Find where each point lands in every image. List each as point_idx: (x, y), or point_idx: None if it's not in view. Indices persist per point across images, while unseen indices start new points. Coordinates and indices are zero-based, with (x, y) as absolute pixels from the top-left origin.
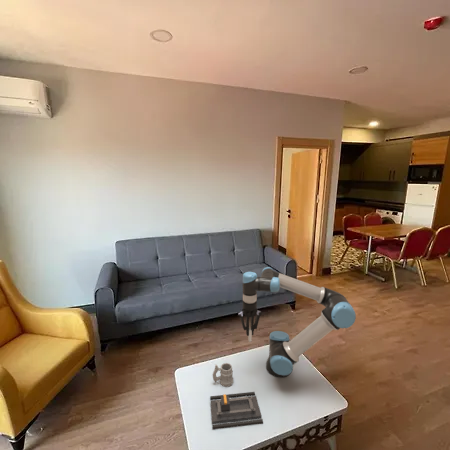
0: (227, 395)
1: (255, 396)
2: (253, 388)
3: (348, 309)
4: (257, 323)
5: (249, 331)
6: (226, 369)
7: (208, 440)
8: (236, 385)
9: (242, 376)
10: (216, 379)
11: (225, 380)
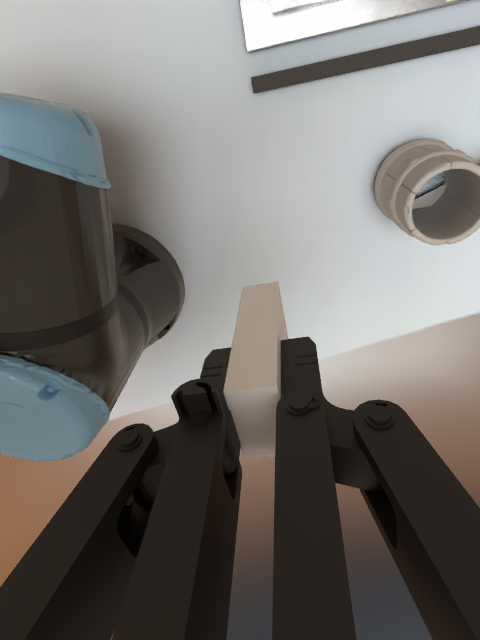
0: (432, 44)
1: (249, 45)
2: (257, 136)
3: None
4: (45, 544)
5: (269, 382)
6: (426, 225)
7: None
8: (355, 155)
9: (313, 226)
10: None
11: (439, 148)
